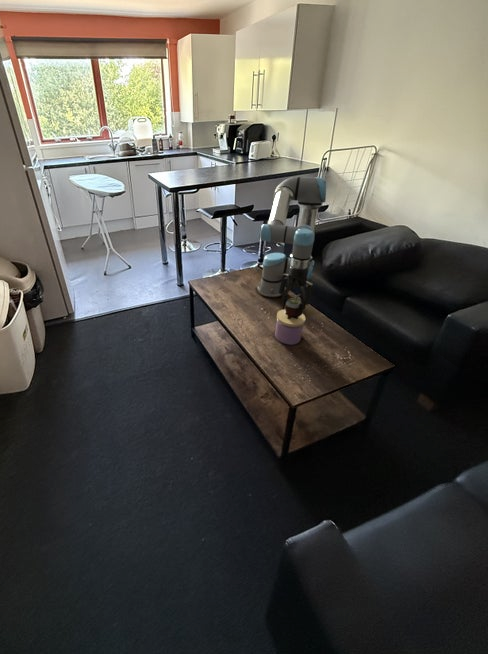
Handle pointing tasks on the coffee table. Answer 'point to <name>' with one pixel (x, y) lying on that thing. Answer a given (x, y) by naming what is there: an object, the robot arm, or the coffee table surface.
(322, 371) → the coffee table surface
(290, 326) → the jar
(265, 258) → the robot arm
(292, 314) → the mate gourd
